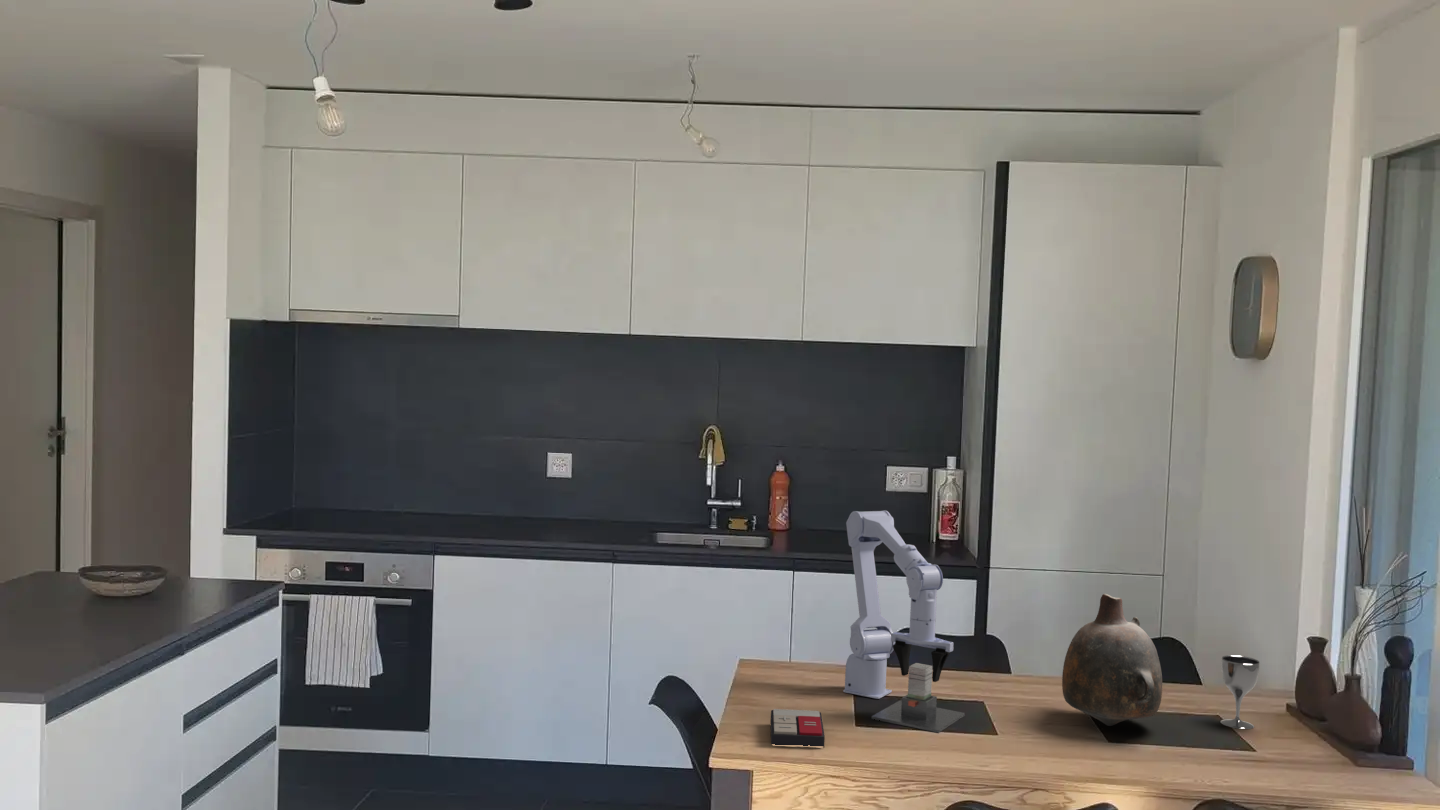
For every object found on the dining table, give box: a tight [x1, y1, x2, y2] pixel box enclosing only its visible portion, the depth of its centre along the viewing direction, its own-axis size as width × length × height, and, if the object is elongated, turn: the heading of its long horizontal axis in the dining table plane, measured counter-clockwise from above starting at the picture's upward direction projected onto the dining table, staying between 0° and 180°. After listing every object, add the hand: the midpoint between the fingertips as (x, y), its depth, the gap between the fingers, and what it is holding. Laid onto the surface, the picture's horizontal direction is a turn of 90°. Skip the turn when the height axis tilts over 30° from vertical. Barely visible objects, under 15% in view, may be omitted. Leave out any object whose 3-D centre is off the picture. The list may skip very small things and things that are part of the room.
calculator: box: [770, 708, 826, 747], centre depth 256 cm, size 11×4×15 cm
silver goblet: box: [1220, 654, 1261, 730], centre depth 277 cm, size 8×8×15 cm
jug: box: [1061, 593, 1163, 727], centre depth 272 cm, size 24×21×30 cm
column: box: [907, 662, 933, 701], centre depth 273 cm, size 4×4×8 cm
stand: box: [871, 694, 966, 734], centre depth 273 cm, size 16×16×5 cm
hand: (920, 677), depth 273 cm, fingers open, 7 cm apart
